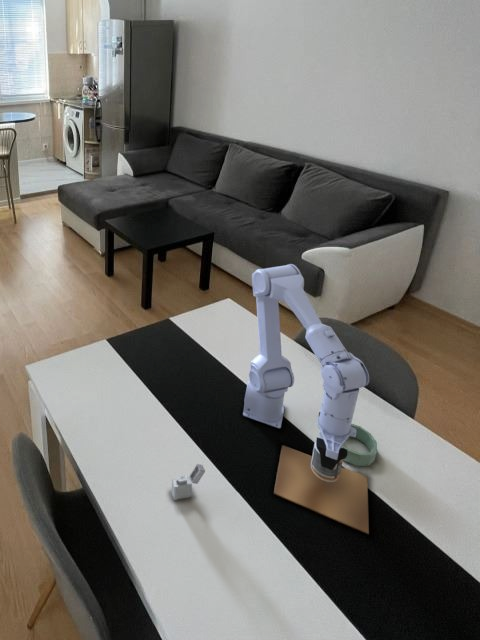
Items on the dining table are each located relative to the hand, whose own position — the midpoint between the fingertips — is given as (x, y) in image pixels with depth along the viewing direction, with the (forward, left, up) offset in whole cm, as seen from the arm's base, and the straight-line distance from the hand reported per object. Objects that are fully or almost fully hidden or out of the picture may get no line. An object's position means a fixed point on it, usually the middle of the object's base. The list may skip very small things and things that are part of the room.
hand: (327, 455), depth 94 cm
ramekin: (+6, +14, -10) cm, 18 cm away
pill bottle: (0, 0, -5) cm, 5 cm away
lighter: (-26, -16, -10) cm, 32 cm away
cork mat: (0, 0, -10) cm, 10 cm away
